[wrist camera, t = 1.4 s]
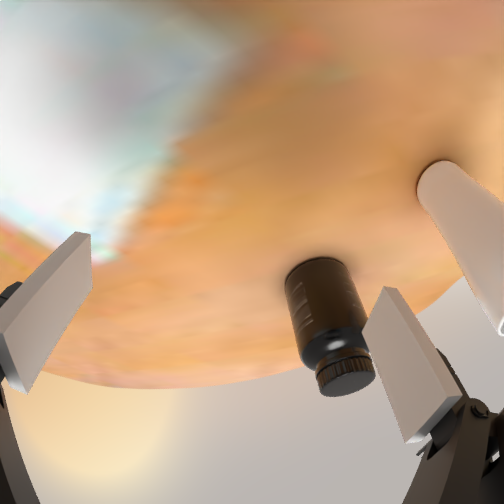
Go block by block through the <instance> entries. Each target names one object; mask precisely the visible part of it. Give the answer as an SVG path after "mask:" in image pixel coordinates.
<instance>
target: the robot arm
mask: <svg viewBox="0 0 504 504" xmlns="http://www.w3.org/2000/svg"><path fill="white" fill-rule="evenodd" d="M92 288H93V285H92V268H91V235H90V234H86V233H81V232H76V231H75V232H74V233H73V234H72V235H71V236H70V237H69V238H68V239H67V240H66V241H65V242H64V243H63V244H61V245H60V246H59V247H58V248H57V249H56V250H55V251H54V252H53V253H52V254H51V255H50V256H49V257H48V258H47V259H46V260H45V261H44V262H43V263H42V264H41V265H40V266H39V267H38V268H37V269H36V270H35V271H34V272H33V273H32V274H31V275H30V276H29V277H28V278H27V279H26V280H25V282H24V283H22V282H16V283H14V284H12V285H10V286H9V287H7V288H6V289H5V290H4V291H3V292H2V293H1V294H0V504H40V502H39V499H38V497H37V495H36V493H35V491H34V488H33V486H32V483H31V481H30V478H29V475H28V473H27V470H26V467H25V465H24V462H23V459H22V457H21V453H20V451H19V447H18V444H17V441H16V438H15V434H14V431H13V427H12V424H11V420H10V417H9V412H8V408H7V404H6V400H5V395H4V391H3V388H2V385H1V382H2V380H3V379H4V377H6V379H7V381H8V383H9V386H10V387H11V388H13V389H16V390H18V391H20V392H22V393H25V394H28V393H29V391H30V389H31V387H32V385H33V383H34V381H35V380H36V378H37V376H38V374H39V373H40V371H41V369H42V367H43V366H44V364H45V362H46V361H47V359H48V357H49V355H50V354H51V352H52V350H53V349H54V347H55V345H56V344H57V342H58V340H59V339H60V337H61V336H62V334H63V332H64V331H65V329H66V328H67V326H68V324H69V323H70V321H71V320H72V318H73V317H74V315H75V314H76V312H77V311H78V309H79V307H80V306H81V304H82V303H83V301H84V300H85V299H86V297H87V296H88V294H89V293H90V291H91V290H92ZM362 334H363V337H364V339H365V341H366V344H367V346H368V349H369V351H370V353H371V356H372V358H373V361H374V363H375V366H376V368H377V370H378V373H379V375H380V378H381V380H382V383H383V385H384V388H385V391H386V393H387V396H388V398H389V401H390V404H391V406H392V409H393V411H394V414H395V417H396V419H397V422H398V425H399V428H400V430H401V433H402V436H403V439H404V441H405V444H406V443H413V442H420V441H421V440H422V439H423V438H424V437H425V436H426V435H427V434H428V433H429V432H430V434H431V436H432V439H431V440H430V441H429V442H428V443H427V444H426V445H425V446H424V447H423V448H422V449H421V450H420V451H419V452H418V453H417V454H416V455H417V456H419V455H420V454H421V453H422V452H424V451H425V452H424V454H423V456H422V459H421V462H420V465H419V467H418V470H417V472H416V474H415V477H414V479H413V481H412V484H411V486H410V488H409V490H408V492H407V495H406V497H405V499H404V501H403V503H402V504H504V408H503V410H502V411H501V412H500V413H499V414H497V413H492V412H490V411H489V409H488V407H487V406H486V405H485V404H484V403H483V402H482V401H480V400H478V399H475V398H469V396H468V394H467V393H466V391H465V389H464V387H463V385H462V384H461V382H460V380H459V378H458V377H457V375H456V374H455V371H454V370H453V368H452V367H451V365H450V363H449V362H448V360H447V358H446V357H445V356H444V355H443V354H442V353H441V352H440V351H439V350H438V349H437V348H435V346H434V345H433V343H432V342H431V340H430V338H429V337H428V335H427V334H426V332H425V330H424V329H423V327H422V326H421V324H420V323H419V321H418V319H417V318H416V316H415V315H414V313H413V312H412V310H411V309H410V307H409V306H408V304H407V303H406V301H405V300H404V298H403V297H402V295H401V294H400V292H399V291H398V289H397V288H391V287H385V286H383V289H382V291H381V293H380V295H379V297H378V300H377V302H376V304H375V306H374V308H373V310H372V312H371V314H370V316H369V318H368V320H367V322H366V325H365V327H364V329H363V331H362ZM498 451H499V455H500V457H499V458H497V459H496V460H495V461H494V462H493V460H492V456H493V455H494V454H496V453H497V452H498Z"/></svg>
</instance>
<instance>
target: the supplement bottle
mask: <svg viewBox="0 0 504 504" xmlns="http://www.w3.org/2000/svg"><path fill="white" fill-rule="evenodd" d="M285 293H286V298H287V302H288V307H289V311H290V316H291V320H292V325H293V329H294V333H295V338H296V342H297V347H298V351H299V355H300V359H301V361H302V362H303V364H304V365H305V366H306V367H308V368H309V369H311V370H313V371H315V376H316V380H317V382H318V386H319V390H320V393H321V394H322V395H324V396H329V397H337V396H344V395H348V394H351V393H354V392H356V391H359V390H360V389H363V388H364V387H366V386H368V385H369V384H370V383H371V382H372V381H373V380H374V379H375V376H376V375H375V371H374V367H373V364H372V359H371V356H370V355H369V352H370V351H369V349H368V346H367V344H366V341H365V339H364V337H363V334H362V331H363V329H364V327H365V325H366V322H367V320H368V317H367V315H366V312H365V310H364V307H363V305H362V302H361V300H360V298H359V295H358V293H357V290H356V288H355V286H354V283H353V281H352V279H351V277H350V274H349V272H348V270H347V269H346V267H345V266H344V265H343V264H341V263H340V262H338V261H335V260H332V259H316V260H312V261H309V262H306V263H304V264H302V265H301V266H299V267H298V268H296V269H295V270H294V271H293V272H292V273H291V275H290V276H289V278H288V279H287V282H286V285H285Z"/></svg>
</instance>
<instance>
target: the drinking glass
mask: <svg viewBox="0 0 504 504" xmlns="http://www.w3.org/2000/svg"><path fill="white" fill-rule="evenodd" d="M417 197H418V200H419V202H420V204H421V206H422V207H423V208H424V210H425V211H426V212H427V213H428V215H429V216H430V218H431V219H432V221H433V222H434V224H435V225H436V227H437V229H438V230H439V232H440V233H441V235H442V237H443V238H444V240H445V242H446V244H447V245H448V247H449V249H450V250H451V252H452V254H453V256H454V258H455V259H456V261H457V263H458V265H459V267H460V269H461V271H462V272H463V274H464V276H465V278H466V280H467V282H468V284H469V286H470V288H471V290H472V291H473V293H474V295H475V297H476V298H477V300H478V302H479V304H480V305H481V307H482V309H483V310H484V312H485V314H486V315H487V317H488V319H489V320H490V322H491V323H492V325H493V327H494V328H495V330H496V331H497V333H498V334H499V335H500V336H504V203H503V202H502V201H501V200H500V199H499V198H497V197H496V196H495V195H494V194H492V193H491V192H490V191H489V190H487V189H486V188H485V187H484V186H482V185H481V184H480V183H479V182H477V181H476V180H475V179H473V178H472V177H471V176H469V175H468V174H467V173H466V172H465V171H463V170H462V169H461V168H460V167H459V166H458V165H456V164H455V163H453V162H450V161H439V162H436V163H434V164H433V165H431V166H430V167H428V168H427V169H426V170H425V172H424V173H423V174H422V176H421V178H420V180H419V183H418V186H417Z"/></svg>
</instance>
